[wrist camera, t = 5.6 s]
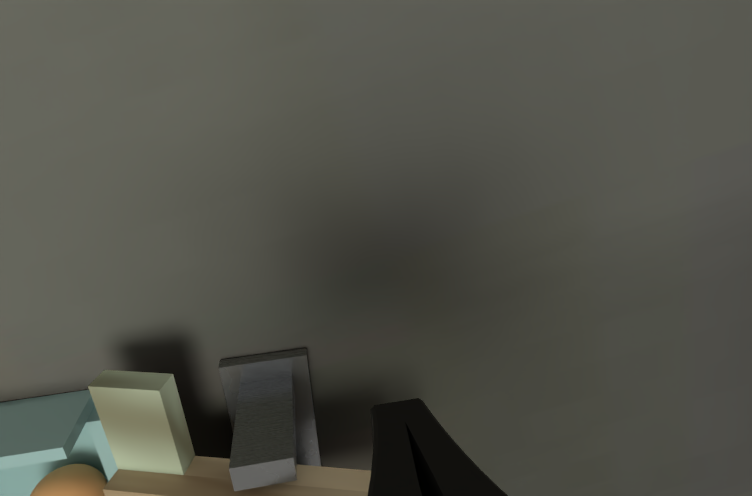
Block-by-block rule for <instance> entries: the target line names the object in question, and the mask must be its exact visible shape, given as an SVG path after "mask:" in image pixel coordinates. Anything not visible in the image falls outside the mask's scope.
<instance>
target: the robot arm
mask: <svg viewBox="0 0 752 496" xmlns="http://www.w3.org/2000/svg"><path fill="white" fill-rule="evenodd" d="M371 423H372V437H373V458H372V469H371V477H370V483H369V489H368V496H508V495H507V494H505V493H504V492H503V491H502V490H501V489H500V488H499V487H498V486H497V485H496V484H495V483H494V482H493V481H491V480H490V479H489V478H488V477H487V476H486V475H485V474H484V473H483V472H482V471H481V470H480V469H479V468H478V467H477V466H476V465H475V463H474V462H473V461H472V460H471V459H470V458H469V457H468V456H467V455H466V454H465V453H464V452H463V450H462V449H461V448H460V447H459V446H458V445H457V444H456V443H455V442H454V440H453V439H452V438H451V437H450V436H449V435H448V433H447V432H446V431H445V430H444V429H443V427H442V426H441V425H440V424H439V422H438V421H437V420H436V418H435V417H434V416H433V415H432V413H431V412H430V410H429V409H428V408H427V406H426V405H425V403H424V402H423V401H422V400H421V399H419V398H417V399H411V400H405V401H399V402H392V403H386V404H380V405H374V406H373V407H372V408H371Z"/></svg>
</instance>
